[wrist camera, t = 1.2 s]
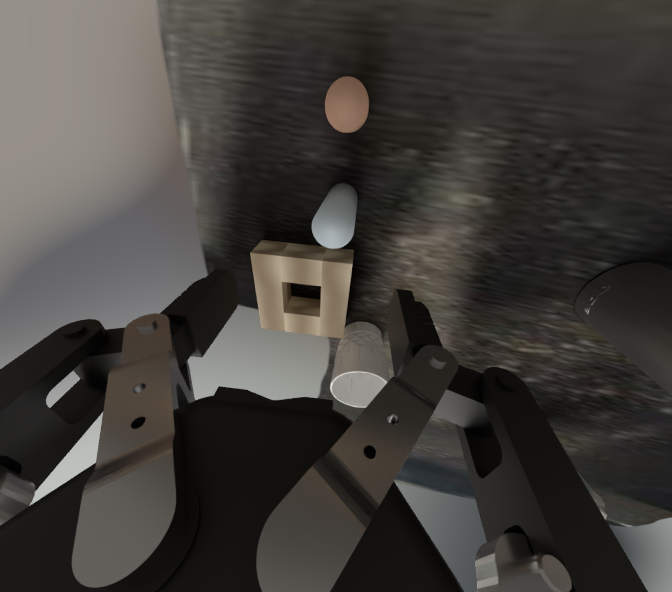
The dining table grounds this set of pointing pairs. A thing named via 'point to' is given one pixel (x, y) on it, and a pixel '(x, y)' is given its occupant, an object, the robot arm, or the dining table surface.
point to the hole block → (302, 268)
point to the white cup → (359, 365)
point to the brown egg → (347, 104)
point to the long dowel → (336, 217)
